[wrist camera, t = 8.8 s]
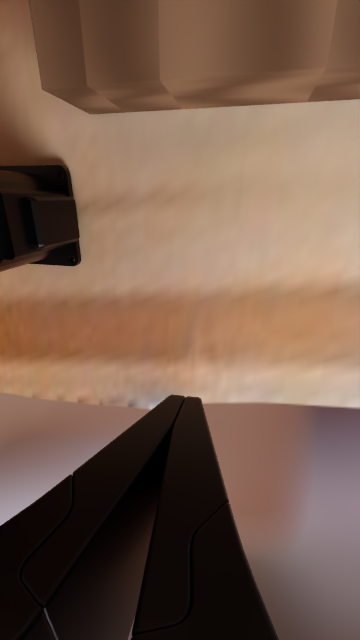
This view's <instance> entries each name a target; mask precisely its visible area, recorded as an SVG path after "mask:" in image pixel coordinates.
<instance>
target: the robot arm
mask: <svg viewBox="0 0 360 640" xmlns="http://www.w3.org/2000/svg"><path fill="white" fill-rule="evenodd" d="M61 171H62V172H63V177H62V178H61V176H60V172H61ZM79 237H80V236H79V228H78V220H77V212H76V204H75V200H74V199H73V192H72V184H71V176H70V172H69V170H68V168H66V167H65V166H60V165H45V166H0V272H1V271H5V270H8V269H11V268H15V267H18V266H21V265H25V264H45V265H62V266H76V265H78V264H80V262H81V254H80V247H79ZM72 256H73V257H74V258H75V261H73V260H72ZM135 614H136V615H135ZM134 617H135V620H134ZM133 621H134V625H133V630H132V638H131V640H279V639H278V636H277V634H276V631H275V629H274V626H273V624H272V621H271V619H270V616H269V614H268V612H267V609H266V607H265V604H264V602H263V599H262V597H261V594H260V592H259V590H258V587H257V585H256V582H255V579H254V576H253V574H252V571H251V569H250V566H249V563H248V561H247V558H246V555H245V552H244V550H243V546H242V543H241V540H240V537H239V534H238V530H237V527H236V524H235V520H234V517H233V513H232V510H231V506H230V504H229V499H228V496H227V493H226V488H225V485H224V481H223V477H222V474H221V470H220V467H219V463H218V459H217V455H216V452H215V448H214V444H213V441H212V437H211V433H210V430H209V426H208V423H207V419H206V415H205V412H204V408H203V404H202V401H201V398H199V397H190V396H188V397H186V398H185V397H184V396H180V395H170V396H168V397H167V398H166V399H165V400H163V401H162V402H161V403H160V404H158V405H157V406H156V407H155V408H153V409H152V410H151V411H150V412H148V413H147V414H146V415H145V416H143V417H142V418H141V419H140V420H138V421H137V422H136V423H134V424H133V425H132V426H131V427H129V428H128V429H127V430H126V431H124V432H123V433H122V434H121V435H119V436H118V437H117V438H116V439H114V440H113V441H112V442H110V444H108V445H107V446H106V447H104V448H103V449H102V450H100V451H99V452H98V453H97V454H95V455H94V456H93V457H92V458H90V459H89V460H88V461H87V462H85V463H84V464H83V465H82V466H80V467H79V468H78V469H76V470H75V471H74V472H73V476H72V475H69V476H68V477H66V478H65V479H64V480H62V481H61V482H60V483H59V484H57V485H56V486H55V487H53V488H52V489H51V490H50V491H48V492H47V493H46V494H44V495H43V496H42V497H40V498H39V499H38V500H36V501H35V502H34V503H32V504H31V505H30V506H28V507H27V508H25V509H24V510H22V511H21V512H20V513H18V514H17V515H15V516H14V517H12V518H11V519H10V520H8V521H7V522H5V523H4V524H3V525H1V526H0V640H128V636H129V633H130V630H131V627H132V624H133Z"/></svg>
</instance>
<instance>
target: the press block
mask: <svg viewBox="0 0 360 640" xmlns="http://www.w3.org/2000/svg"><path fill="white" fill-rule="evenodd" d="M29 3H30V10H31V17H32V24H33V31H34V37H35V44H36V51H37V58H38V65H39V71H40V78H41V85H42V89H43V90H44V91H46V92H48V93H50V94H52V95H54V96H56V97H58V98H60V99H62V100H64V101H66V102H68V103H70V104H71V105H73V106H75V107H77V108H79V109H81V110H83V111H85V112H87V113H89V114H105V113H122V112H140V111H158V110H175V109H193V108H210V107H228V106H245V105H263V104H281V103H298V102H316V101H333V100H351V99H360V0H29Z"/></svg>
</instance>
